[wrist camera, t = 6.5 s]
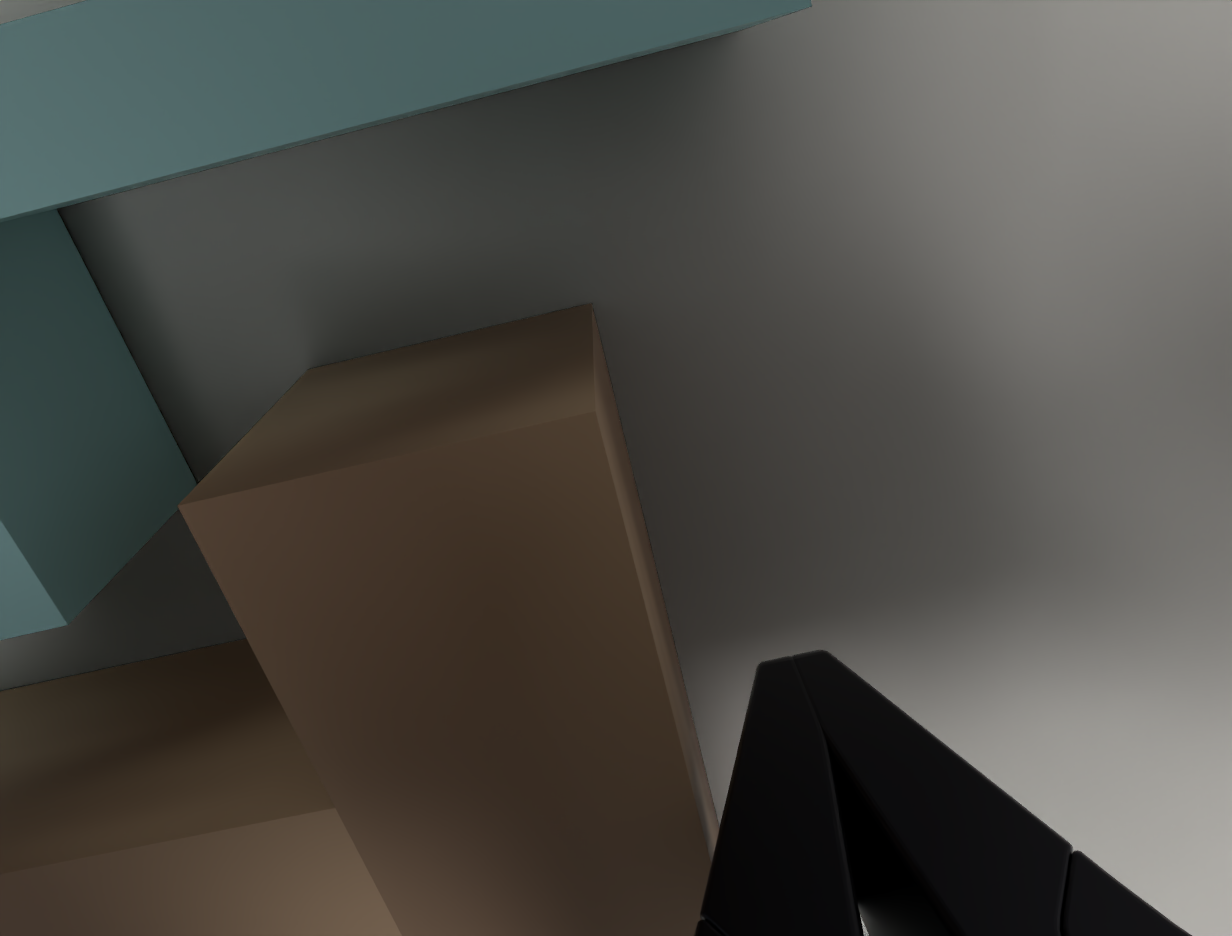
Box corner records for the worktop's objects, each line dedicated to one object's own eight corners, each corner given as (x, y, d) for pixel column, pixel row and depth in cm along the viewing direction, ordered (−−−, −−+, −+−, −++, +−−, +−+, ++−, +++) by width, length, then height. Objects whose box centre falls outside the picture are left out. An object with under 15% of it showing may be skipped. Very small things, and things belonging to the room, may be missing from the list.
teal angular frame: (720, -104, 7) (787, -196, 5) (883, 992, 13) (945, 1181, 11) (-691, 281, 8) (-1224, 365, 5) (100, 1132, 14) (7, 1334, 12)
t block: (592, 303, 8) (595, 411, 6) (734, 891, 12) (779, 1127, 9) (-223, 494, 9) (-580, 677, 6) (160, 998, 13) (45, 1249, 10)
